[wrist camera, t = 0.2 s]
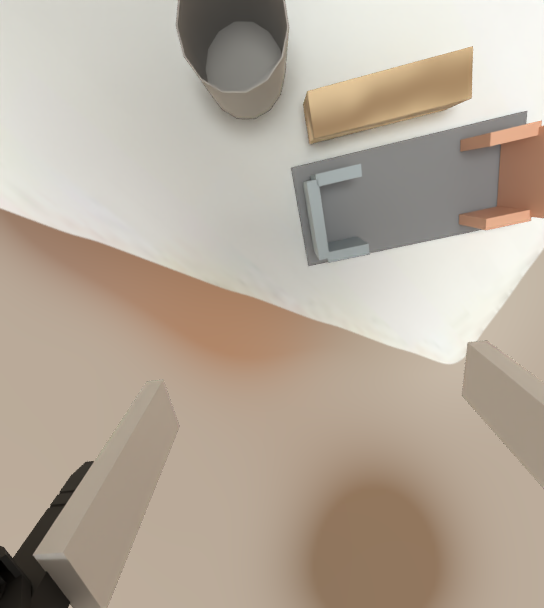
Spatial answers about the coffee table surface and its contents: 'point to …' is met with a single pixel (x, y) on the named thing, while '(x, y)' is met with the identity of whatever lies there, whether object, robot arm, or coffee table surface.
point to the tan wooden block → (389, 96)
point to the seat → (397, 192)
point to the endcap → (512, 176)
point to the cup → (236, 50)
